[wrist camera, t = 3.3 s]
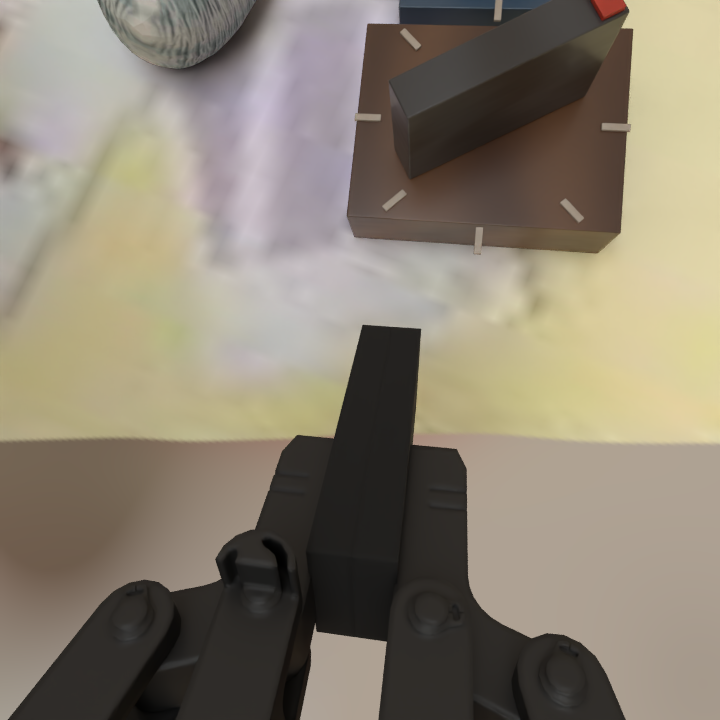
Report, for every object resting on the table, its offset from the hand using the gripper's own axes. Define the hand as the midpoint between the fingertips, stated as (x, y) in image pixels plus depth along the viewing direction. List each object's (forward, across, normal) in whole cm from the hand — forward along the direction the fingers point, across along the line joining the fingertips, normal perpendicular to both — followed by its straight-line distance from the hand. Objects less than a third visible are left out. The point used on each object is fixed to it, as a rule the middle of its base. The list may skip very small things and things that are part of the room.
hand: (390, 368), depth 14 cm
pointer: (+19, +3, +1) cm, 20 cm away
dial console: (+22, +3, -1) cm, 22 cm away
